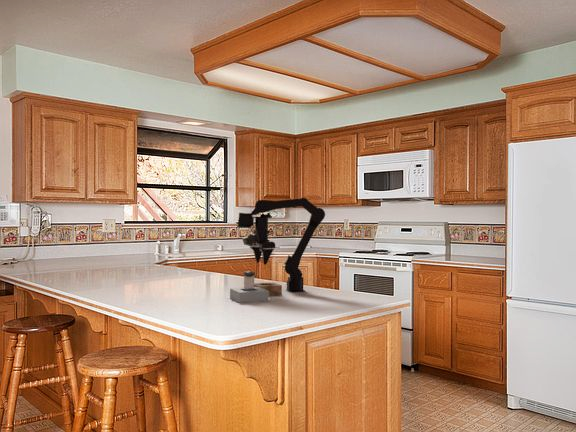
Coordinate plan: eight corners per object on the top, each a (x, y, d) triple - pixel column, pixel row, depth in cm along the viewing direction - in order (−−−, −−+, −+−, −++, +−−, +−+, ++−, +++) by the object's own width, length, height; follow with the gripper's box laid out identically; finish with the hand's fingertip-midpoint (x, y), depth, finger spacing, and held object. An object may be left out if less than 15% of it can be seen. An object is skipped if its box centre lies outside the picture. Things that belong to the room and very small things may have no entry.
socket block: (258, 296, 214) (258, 286, 214) (268, 301, 203) (268, 290, 203) (230, 298, 209) (230, 288, 209) (239, 303, 198) (239, 292, 198)
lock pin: (252, 298, 209) (252, 271, 209) (256, 300, 205) (256, 272, 205) (241, 299, 207) (241, 271, 207) (245, 300, 203) (245, 272, 203)
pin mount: (272, 291, 228) (272, 282, 228) (281, 294, 219) (281, 285, 219) (251, 292, 224) (251, 283, 224) (259, 296, 215) (259, 286, 215)
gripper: (237, 227, 236) (237, 262, 236) (251, 229, 219) (251, 266, 219) (260, 227, 240) (260, 261, 240) (276, 228, 223) (275, 265, 223)
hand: (261, 263), depth 230 cm, fingers open, 9 cm apart
